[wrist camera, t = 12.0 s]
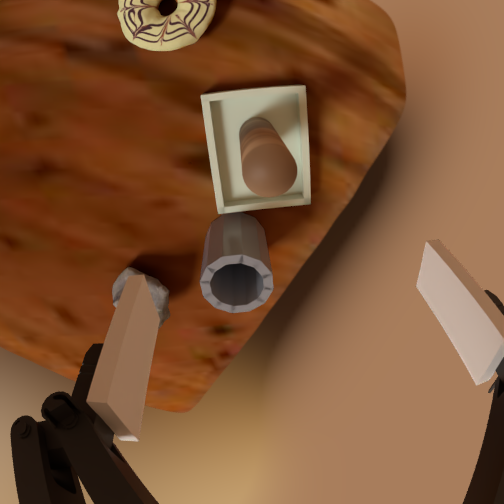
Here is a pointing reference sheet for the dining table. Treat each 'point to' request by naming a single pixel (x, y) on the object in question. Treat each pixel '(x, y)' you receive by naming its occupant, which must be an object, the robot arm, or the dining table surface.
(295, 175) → the walnut dowel
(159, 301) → the fossil
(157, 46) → the decorated donut
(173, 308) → the dining table surface
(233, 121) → the sage tray
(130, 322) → the robot arm
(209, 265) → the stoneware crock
